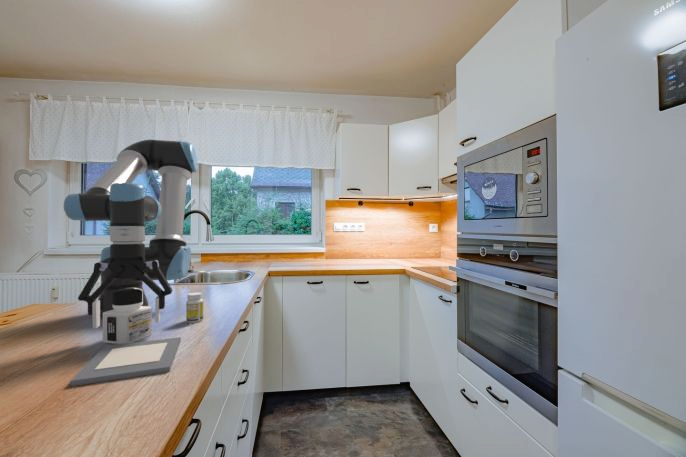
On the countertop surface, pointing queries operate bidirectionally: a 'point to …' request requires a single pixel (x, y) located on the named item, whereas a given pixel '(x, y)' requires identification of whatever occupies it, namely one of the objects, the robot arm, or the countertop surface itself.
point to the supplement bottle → (194, 307)
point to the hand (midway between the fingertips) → (128, 324)
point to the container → (127, 318)
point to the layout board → (129, 361)
